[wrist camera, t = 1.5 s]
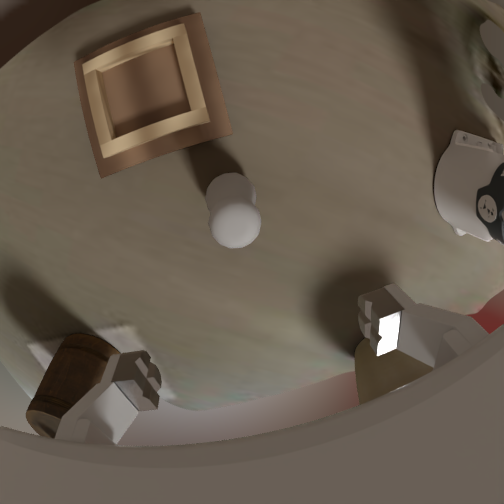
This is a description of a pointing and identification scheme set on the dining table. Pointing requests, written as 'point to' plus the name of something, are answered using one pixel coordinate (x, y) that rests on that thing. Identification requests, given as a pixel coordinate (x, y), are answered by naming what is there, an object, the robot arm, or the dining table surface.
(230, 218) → the salt shaker
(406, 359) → the plant pot
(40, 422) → the wooden container
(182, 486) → the robot arm
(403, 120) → the dining table surface
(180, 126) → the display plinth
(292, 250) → the dining table surface
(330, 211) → the dining table surface
